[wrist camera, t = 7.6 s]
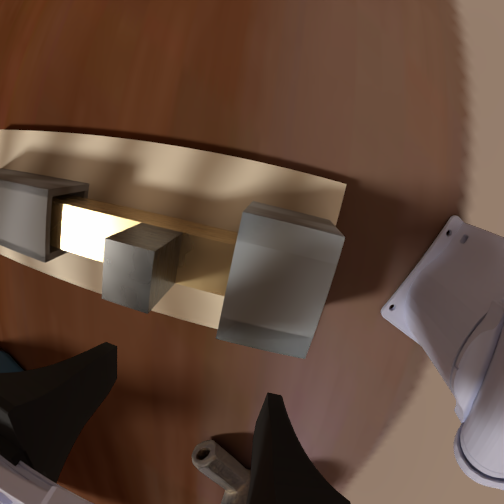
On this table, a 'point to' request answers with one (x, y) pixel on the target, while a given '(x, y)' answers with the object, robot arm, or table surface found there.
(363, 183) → the table surface
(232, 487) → the pipe
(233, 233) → the tan flat block
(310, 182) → the grey blocks on plank
